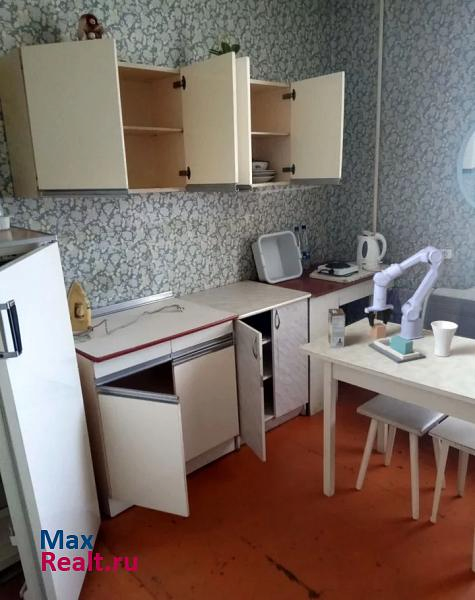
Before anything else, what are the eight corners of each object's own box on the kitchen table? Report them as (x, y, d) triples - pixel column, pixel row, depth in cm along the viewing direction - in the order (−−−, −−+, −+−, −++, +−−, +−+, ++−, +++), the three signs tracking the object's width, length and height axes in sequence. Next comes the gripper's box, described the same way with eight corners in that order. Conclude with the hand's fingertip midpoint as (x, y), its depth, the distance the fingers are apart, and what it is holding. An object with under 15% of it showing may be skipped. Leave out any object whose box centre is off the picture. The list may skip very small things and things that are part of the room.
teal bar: (397, 348, 206) (398, 335, 205) (412, 354, 200) (413, 341, 198) (390, 350, 204) (391, 338, 203) (404, 356, 198) (405, 343, 196)
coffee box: (327, 340, 222) (328, 308, 217) (341, 340, 221) (341, 308, 217) (330, 347, 213) (331, 314, 208) (344, 347, 213) (345, 314, 208)
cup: (457, 359, 195) (460, 329, 191) (431, 358, 197) (433, 328, 194) (451, 350, 205) (454, 321, 201) (426, 349, 207) (429, 320, 203)
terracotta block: (379, 334, 227) (379, 322, 225) (385, 337, 223) (386, 325, 221) (370, 335, 226) (370, 324, 224) (376, 339, 221) (377, 327, 219)
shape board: (394, 341, 217) (394, 336, 216) (425, 357, 198) (425, 352, 197) (368, 346, 213) (368, 341, 212) (398, 363, 194) (398, 357, 193)
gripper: (387, 293, 224) (385, 320, 228) (361, 297, 220) (360, 324, 224) (396, 297, 218) (395, 324, 222) (370, 301, 214) (369, 329, 217)
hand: (378, 325), depth 222 cm, fingers open, 7 cm apart
